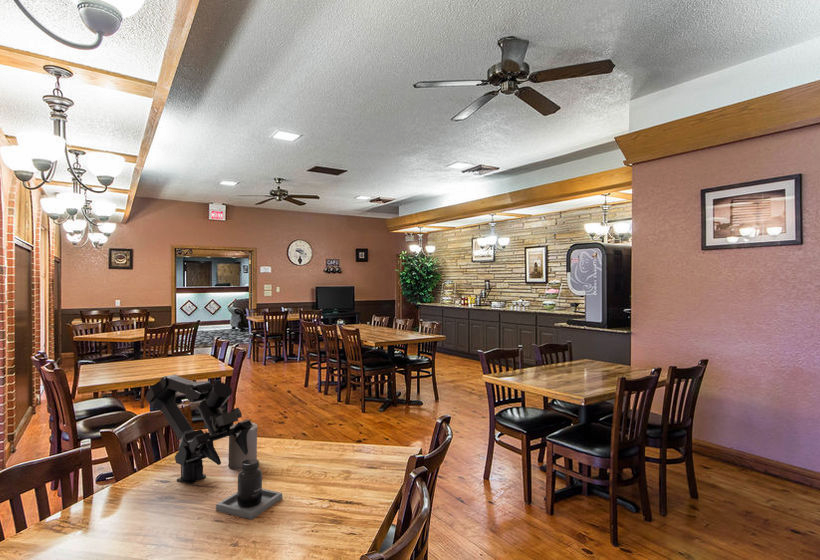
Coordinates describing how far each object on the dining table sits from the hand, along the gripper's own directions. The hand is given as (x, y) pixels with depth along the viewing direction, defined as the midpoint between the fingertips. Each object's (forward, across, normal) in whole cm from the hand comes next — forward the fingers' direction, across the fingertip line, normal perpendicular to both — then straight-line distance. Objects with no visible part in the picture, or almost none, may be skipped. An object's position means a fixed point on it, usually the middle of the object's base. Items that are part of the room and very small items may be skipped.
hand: (233, 458), depth 137 cm
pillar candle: (-5, +17, +22) cm, 28 cm away
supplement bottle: (+14, 0, +2) cm, 14 cm away
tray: (+14, 0, +2) cm, 14 cm away
